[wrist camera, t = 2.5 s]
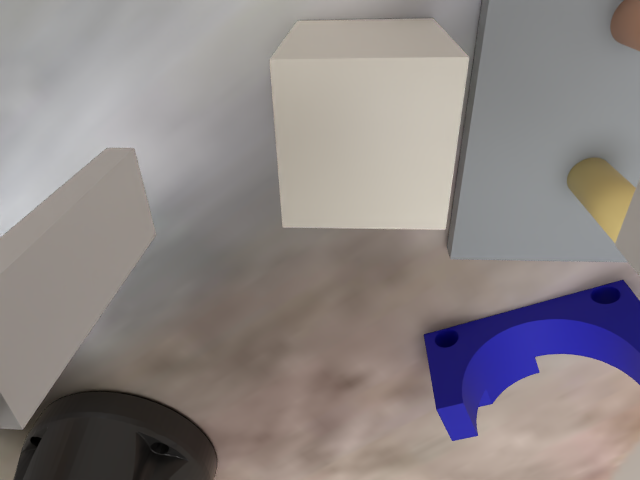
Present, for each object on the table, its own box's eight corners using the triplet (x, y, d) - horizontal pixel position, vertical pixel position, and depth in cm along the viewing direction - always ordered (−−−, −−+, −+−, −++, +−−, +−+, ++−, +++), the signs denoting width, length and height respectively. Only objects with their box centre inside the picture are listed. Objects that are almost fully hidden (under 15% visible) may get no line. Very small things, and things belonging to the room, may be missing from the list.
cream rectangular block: (303, 147, 24) (282, 227, 18) (297, 20, 21) (269, 59, 14) (420, 147, 24) (445, 229, 17) (433, 18, 21) (469, 57, 14)
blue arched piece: (443, 376, 33) (459, 455, 28) (423, 332, 31) (436, 409, 26) (630, 330, 30) (685, 411, 25) (621, 277, 28) (680, 353, 23)
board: (446, 247, 27) (468, 320, 22) (495, -96, 18) (550, -108, 13) (666, 250, 26) (743, 328, 21) (825, -106, 18) (1021, -124, 12)
